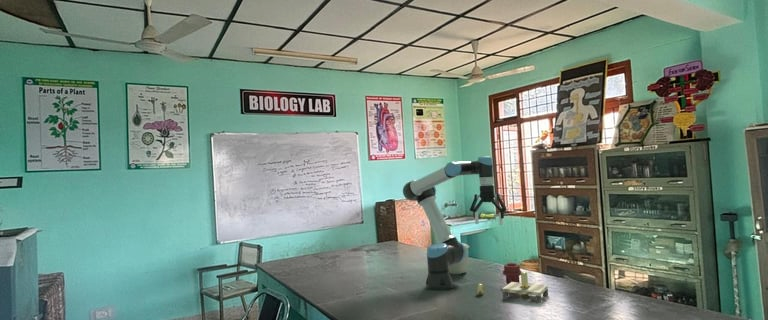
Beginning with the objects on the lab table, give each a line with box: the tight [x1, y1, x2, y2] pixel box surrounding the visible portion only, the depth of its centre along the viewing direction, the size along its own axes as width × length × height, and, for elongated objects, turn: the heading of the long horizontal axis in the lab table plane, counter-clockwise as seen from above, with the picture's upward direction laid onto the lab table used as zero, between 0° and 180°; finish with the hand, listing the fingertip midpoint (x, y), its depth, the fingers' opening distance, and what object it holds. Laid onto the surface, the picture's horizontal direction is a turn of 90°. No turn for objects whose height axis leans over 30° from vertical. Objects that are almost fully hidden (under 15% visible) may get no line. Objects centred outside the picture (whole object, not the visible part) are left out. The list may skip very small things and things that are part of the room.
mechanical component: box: [502, 262, 523, 286], centre depth 232 cm, size 12×10×10 cm
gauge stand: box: [501, 282, 549, 304], centre depth 211 cm, size 18×14×5 cm
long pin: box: [520, 271, 530, 299], centre depth 211 cm, size 3×3×12 cm
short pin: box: [476, 283, 484, 296], centre depth 220 cm, size 3×3×5 cm
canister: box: [449, 242, 470, 275], centre depth 270 cm, size 18×18×21 cm
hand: (488, 224), depth 230 cm, fingers open, 13 cm apart
